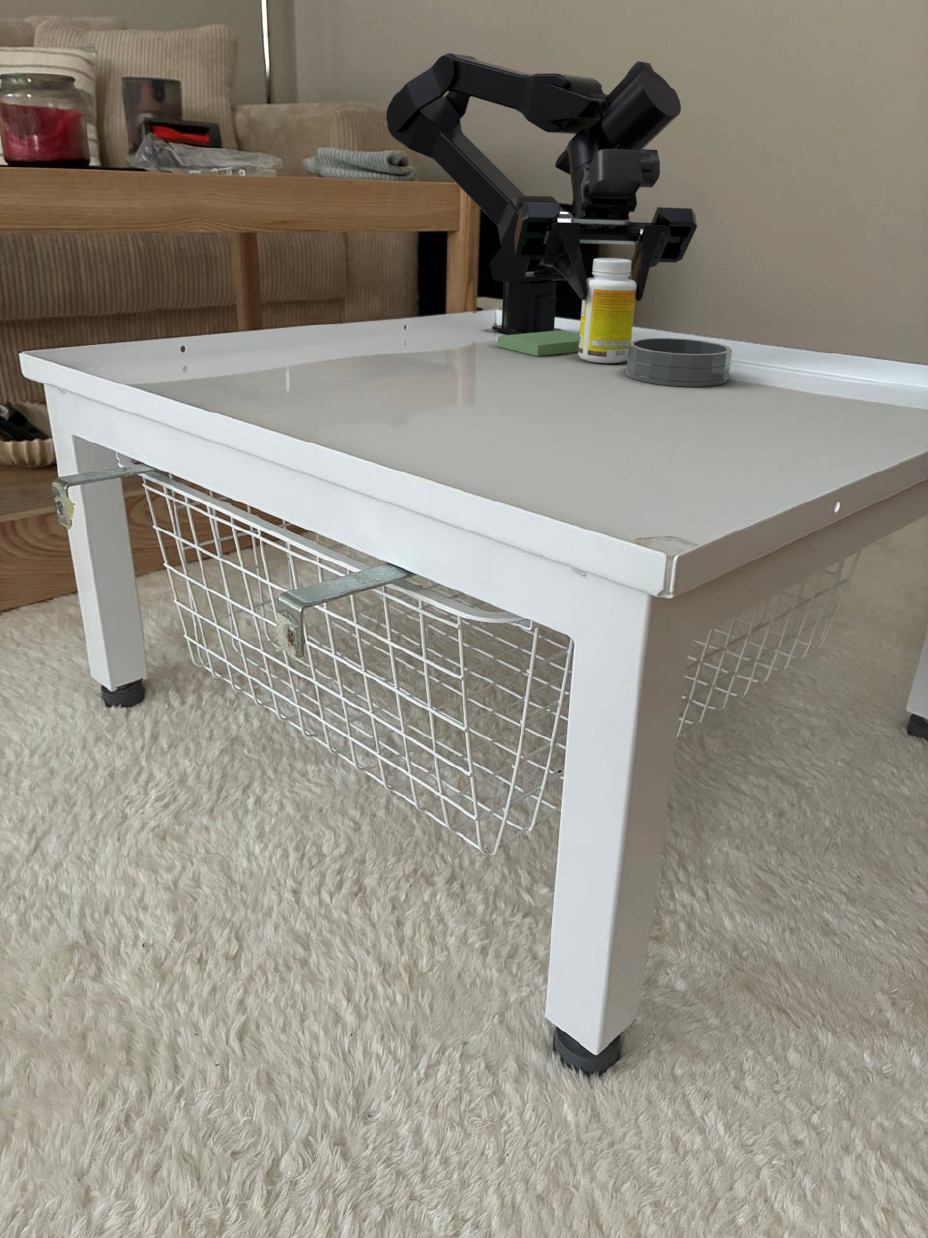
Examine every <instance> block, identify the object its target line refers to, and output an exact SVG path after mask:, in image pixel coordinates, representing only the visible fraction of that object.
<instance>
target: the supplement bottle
mask: <svg viewBox="0 0 928 1238" xmlns="http://www.w3.org/2000/svg"><path fill="white" fill-rule="evenodd" d="M631 261H632V259H627V258H618V257H596V258H593V262H592V269H591V270H592V271H591V274H592V275H593V277H588V278H586V280H587V297H586V300H581V310H580V311H581V313H580V324H579V334H580V335H579V349H578V352H577V353H578V357H579V358H580V359H581V360H583V361H586V362H590V363H596V364H620V363H624V362H627V357H628V347H629V342H631V341H632V336H633V328H634V327H633V326H634V317H635V306H636V288H637V285H636V282H635V281H634V280H632V278H629V277H631V275H632V274H631V263H632V262H631Z"/></svg>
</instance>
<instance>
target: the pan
mask: <svg viewBox="0 0 928 1238" xmlns="http://www.w3.org/2000/svg"><path fill="white" fill-rule="evenodd" d="M732 355H733V350H732V348H731V347H730V346H728V345H725V344H722V343H718V342H713V341H707V340H700V339H690V338H677V337H676V338H675V337H648V338H647V337H646V338H638V339H634V340H631V342H629V347H628V357H627V360H626V372H625V374H626V376H627V377H629V378H631V379H633V380H636V381H639V382H643V383H647V384H653V385H661V386H668V387H669V386H670V387H684V388H686V387H688V388H690V387H691V388H701V387H714V386H720V385H723V384H726V383H727V382H728V377H729V376H730V370H731V362H732Z"/></svg>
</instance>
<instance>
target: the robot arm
mask: <svg viewBox="0 0 928 1238" xmlns="http://www.w3.org/2000/svg"><path fill="white" fill-rule="evenodd" d="M446 93H447V94H446ZM471 97H472V98H475V99H479V100H482V101H485V102H488V103H492V104H495V105H499V106H502V107H504V108H505V107H506V108H509V109H512V110H515V111H517V112H518V113H521V114H522V115H523V117H524V119H526V121H528V122H529V123H530V124H532V125H534V126H536V127H537V128H539V129H540V130H542V131H544V132H546V133H549V134H550V133H552V134H566V135H573V136H572V138H571V139H570V140H569V141H568V143H567V146H565V149H564V150H563V151H562V152H561V153H560V154H559V156H557V159H556V161H555V164H554V167H555V168H556V169H558V170H560V171H562V172H564V173H565V174H567V175H570V184H571V193H572V202H571V205H570V206H571V212H570V211H566V210H565V209H563V207H562V206H561V205H560V203H559V202H558V201H557V199H555V198H554V197H553V196H551V195H525V193H524V192H522V191H521V190H520V189H519V188H518V187H517V186H516V185H515V184H514V183H513V181H512V180H510V178H508V177H507V176H506V174H504V173H503V172H502V170H500V169H499V168H498V167H497V166H496V165H495V164H494V163H493V162H492V161H491V160H490V159H489V158H488V157H487V156H486V155H485V154H484V153H483V151H481V150H480V149H479V147H477V146H476V145H475V144H474V143H473V142H472V141H471V139H469V138H468V137H467V136H466V135H465V133H464V132H463V129H462V121H461V120H462V118H463V117H464V116H465V114H466V113H467V109H468V106H469V101H470V99H471ZM681 111H682V105H681V101H680V97H679V95H678V93H677V90H676V89H674V88H673V87H671V85H670V84H669V83H668V82H667V81H666V80H665V78H664V77H663V76H661V75H660V74H659V73H657V72H656V71H655V70H654V68H653V66H652V64H651V62H647V61H641V60H640V61H639V60H637V61H636V62H635V63H633V65H632V66H631V68H630V69H629V70H628V72H627V73H626V75H624V77H623V79H621V80H620V82H619V83H618V84H617V85H616V86H615V87H614V88H613V89H612V90H611V91H610V92H609V93H608V94H607V93H605V92H604V91H603V86H602V84H601V82H600V81H598V80H597V79H596V78H592V77H587V76H586V77H585V76H578V75H570V74H563V73H555V72H554V73H551V72H549V73H548V72H547V73H531V74H530V73H526V72H523V71H519V70H515V69H511V68H507V67H504V66H500V65H496V64H494V63H493V64H492V63H489V62H485V61H482V60H479V59H477V58H475V57H474V56H472V55H466V54H458V53H451V52H450V53H449V52H448V53H445V54H444V55H441V56H440V57H438V59H436V60H435V62H434V63H433V65H431V67H430V68H428V69H426V70H425V71H423V72H422V73H420V74H418V75H416V76H415V77H413V78H412V79H410V80H409V81H407V82H406V83H405V84H404V85H403V87H402V88H401V89H400V90H399V91H398V92H396V93H395V94H394V95H393V97H392V99H391V101H390V102H389V104H388V106H387V108H386V115H385V117H386V118H385V120H386V124H387V130H388V132H389V134H390V136H391V138H393V139H394V140H395V141H397V142H398V143H400V144H401V145H402V146H404V147H405V148H407V149H408V150H411V151H413V152H415V153H418V154H421V155H422V156H426V157H428V158H430V159H431V160H433V161H434V162H435V163H436V164H437V165H438V166H439V167H440V168H441V170H443V171H444V173H445V174H446V175H448V176H449V178H450V179H452V180H453V182H455V184H457V186H458V187H459V188H460V189H461V190H462V191H463V192H465V194H466V195H467V196H468V197H469V198H470V199H471V201H473V202H474V203H475V205H477V206H478V208H479V209H481V210H482V211H483V213H484V214H485V215H486V216H487V217H489V219H490V220H491V221H492V222H493V223H494V224H495V225H496V227H497V230H498V231H497V232H498V236H499V237H498V238H499V243H500V246H501V247H500V248H499V250H498V251H497V252H496V253H495V255H494V256H493V258H492V259H491V260H490V262H489V267H490V274H491V278H492V281H495V282H502V283H503V286H502V287H503V288H502V309H501V324H498V325H491V330H492V331H496V332H501V333H505V334H508V335H515V334H526V333H537V332H548V331H559V330H563V329H562V328H557V327H555V323H556V322H555V321H556V307H557V295H556V287H557V286H556V285H557V282H555V281H566V282H567V283H568V284H569V286H570V287H571V289H573V291H574V292H575V293H576V295H577V296H578V297H579V299H580V300H581V301H582V300H586V297H587V280H586V279H587V275H586V270H585V266H584V265H585V264H584V260H583V255H582V249H581V244H596V245H597V244H599V245H600V244H602V245H630V246H631V245H632V246H633V248H634V253H633V255H632V258H631V262H632V263H631V272H630V273H631V274H630V275H631V280H634V281H635V282H636V285H637V288H636V298H635V301H636V302H641V301H642V299H643V296H644V293H645V290H646V289H645V288H646V284H647V281H648V277H649V272H650V268H654V267H656V266H658V265H659V263H670V264H672V263H673V264H675V263H678V262H681V261H682V260H683V258H684V256H685V254H686V252H687V249H688V248H689V246H690V243H691V241H692V239H693V237H694V235H695V233H696V231H697V228H698V222H697V217H696V216H697V215H696V213H695V212H694V209H692V208H691V207H690V208H689V207H671V206H669V207H668V206H667V207H666V206H665V207H664V206H657V207H656V210H655V212H654V215H653V218H652V221H651V222H643V221H642V222H641V221H640V222H637V221H633V220H632V218H631V216H630V213H634V212H635V211H636V208H637V206H638V201H637V200H638V199H637V192H638V191H639V189H640V188H653V187H654V186H655V185H656V184H657V182H658V180H659V179H660V175H661V160H660V156H659V151H658V150H657V149H645V148H646V147H647V146H648V145H649V144H650V143H651V142H652V141H654V140H655V139H656V137H658V136H659V135H660V134H661V133H662V132H663V131H664V130H665V129H666V128H667V127H668V126H669V125H670V124H671V123H672V122H673V121H674V120H675V119H676V118H677V117H678V116H679V115H680V114H681Z"/></svg>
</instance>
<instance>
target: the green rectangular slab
mask: <svg viewBox="0 0 928 1238" xmlns="http://www.w3.org/2000/svg"><path fill="white" fill-rule="evenodd" d="M579 335H580V332H579V333H578V332H573V331H568V330H565V329H562V330H559V331H548V332H537V333H526V334H515V335H514V334H505V335H498V336H497V347H498V348H502V349H505V350H510V351H513V352H518V353H523V354H525V355H526V354H527V355H531V356H534V357H543V356H553V355H561V354H571V353H578V349H579Z"/></svg>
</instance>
